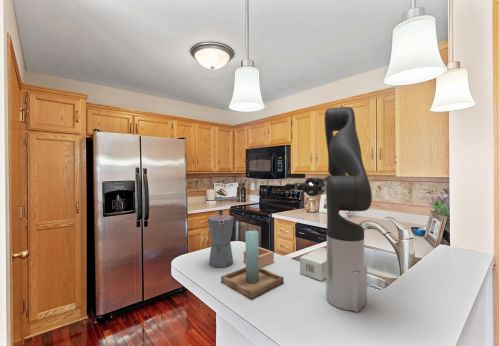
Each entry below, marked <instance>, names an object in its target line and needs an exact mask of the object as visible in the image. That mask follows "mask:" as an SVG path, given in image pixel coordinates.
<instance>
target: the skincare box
mask: <svg viewBox="0 0 499 346" xmlns="http://www.w3.org/2000/svg"><path fill="white" fill-rule="evenodd" d="M326 270H327V247H326V248H325V247H322V246H321V247H319V248H317V249H314V250H312V251H310V252H308V253H305V254H304V255H302V256H300V257H299V274H300V275H304V276H306V277H310V278H312V279H315V280H317V281H319V282H322V281H324V280H325V279H326Z"/></svg>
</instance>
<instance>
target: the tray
mask: <svg viewBox="0 0 499 346" xmlns="http://www.w3.org/2000/svg"><path fill="white" fill-rule="evenodd" d="M284 279H285V278H284V276H281V275H279V274H277V273H274V272H272V271H270V270H267V269H265V268H263V267H261V268H260V267H259V282H257V283H254V284H250V283H247V282H246V266H245V267H242V268H240V269H238V270H234V271H232V272H229V273H227V274H224V275H221V276H220V280H221V281H220V282H221V283H222V284H223V285H225V286H227V287H228V288H230V289H232V290H234V291H235V292H237V293H238V294H241V295H243V296H244V297H246V298H248V299H249V300H254V299H256V298H258V297H259V296H262V295H263V294H266V293H268V292H269V291H271V290H273V289H276V288H277V287H279V286H281V285H283V284H284V283H285V281H284Z"/></svg>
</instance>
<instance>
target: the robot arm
mask: <svg viewBox="0 0 499 346" xmlns="http://www.w3.org/2000/svg"><path fill="white" fill-rule="evenodd" d="M324 132H325V140H326V141H325V142H326V147H327V148H326V149H327V156H328V157H327V161H328V162H327V163H328V164H327V165H328V166H327V167H328V169H327V170H328V171H327V172H328V174H330V175H327V176H326V177H318V176H317V177H309V178H307V179H306V180H305V181H304V182H303V181H302V182H294V183H286V184H284V185H283V191H286V192H287V191H290V192H291V191H294V192H296V193H297V192H298V193H299V192H301V193H305V194H306V195H307V196H309V197H317V196H324V195H325V197H326V198H325V199H326V249H327V270H326V278H325V279H326V281H325V282H326V286H325V288H326V289H325V291H326V294H325V296H326V297H325V298H326V300H327V301H328V303H329V304H331V305H332V306H334V307H335V308H338V309H342V310H346V311H352V312H356V313H359V311H360V310H361V309H362V308H363V307H364V306H365V305H366V304H367V302H368V301H367V299H368V298H367V297H368V295H367V293H368V291H367V290H368V267H367V266H365V229H364V227H363V226H362V225H360V224H359V223H356V222H353V221H350V220H349V219H346V217H345V218H344V216H342V215H341V214H340V211H341V212H342V211H343V212H366V211H368V210H369V209H370V207H371V206H372V200H373V195H372V188H371V185H370V181H369V178H368V174H367V172H366V169H365V166H364V162H363V158H362V157H363V156H362V149H361V143H360V140H359V136H358V134H357V133H358V132H357V128H356V115H355V111H354V109H353V108H352V107H351V106H337V107H329V108H327V109H326V110H325V113H324ZM334 132H336V133H335V134H334Z"/></svg>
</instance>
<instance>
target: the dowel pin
mask: <svg viewBox="0 0 499 346" xmlns="http://www.w3.org/2000/svg"><path fill="white" fill-rule="evenodd" d="M244 233H245V235H244V236H245V251H246V263H245V267H246V282H247V283H250V284H254V283H257V282H259V247H260V246H259V244H260V243H259V231H258V230H246V231H245V232H244Z"/></svg>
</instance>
